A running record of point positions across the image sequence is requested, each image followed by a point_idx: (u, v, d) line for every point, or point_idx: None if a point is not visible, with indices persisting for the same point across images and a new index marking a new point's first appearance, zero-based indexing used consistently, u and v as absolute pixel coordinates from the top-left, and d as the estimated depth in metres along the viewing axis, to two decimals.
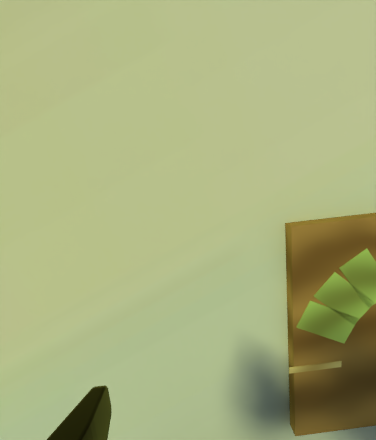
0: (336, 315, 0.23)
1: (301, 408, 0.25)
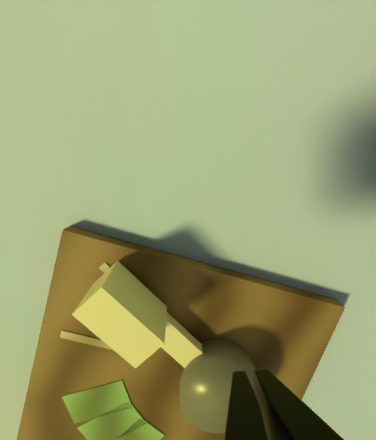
0: (127, 436, 0.22)
1: None
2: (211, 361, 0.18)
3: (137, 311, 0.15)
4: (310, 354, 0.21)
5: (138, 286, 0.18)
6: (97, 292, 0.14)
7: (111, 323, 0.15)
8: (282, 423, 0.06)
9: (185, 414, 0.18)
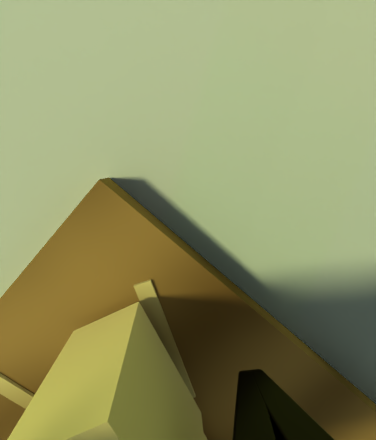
0: None
1: None
2: None
3: None
4: None
5: (167, 369, 0.08)
6: (89, 432, 0.04)
7: None
8: (274, 424, 0.06)
9: None
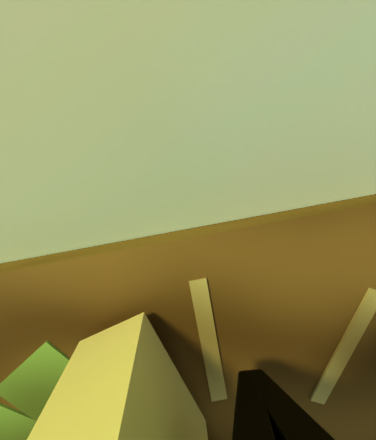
0: None
1: None
2: None
3: None
4: None
5: (173, 379, 0.08)
6: None
7: None
8: (275, 424, 0.06)
9: None
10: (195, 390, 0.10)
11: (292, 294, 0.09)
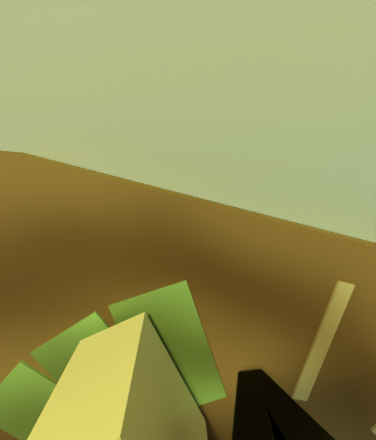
0: None
1: None
2: None
3: None
4: None
5: (173, 379, 0.08)
6: None
7: None
8: (275, 424, 0.06)
9: None
10: (283, 382, 0.10)
11: None
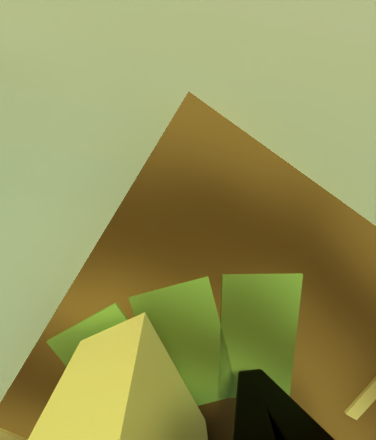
0: None
1: None
2: None
3: None
4: None
5: (173, 379, 0.08)
6: None
7: None
8: (275, 424, 0.06)
9: None
10: (342, 396, 0.10)
11: None
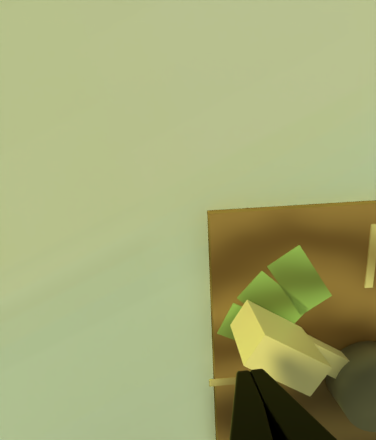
0: None
1: (225, 426, 0.22)
2: (365, 367, 0.18)
3: (296, 345, 0.16)
4: None
5: (275, 317, 0.19)
6: (262, 340, 0.15)
7: (280, 363, 0.15)
8: (277, 424, 0.06)
9: (352, 421, 0.19)
10: (358, 281, 0.19)
11: None
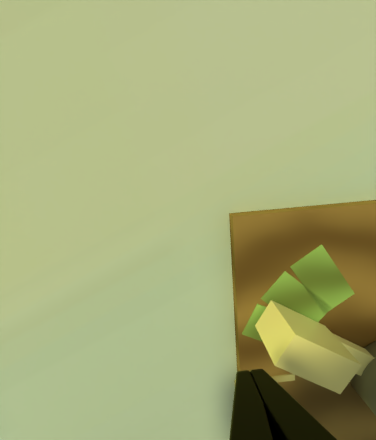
0: None
1: None
2: None
3: (325, 343, 0.16)
4: None
5: (299, 316, 0.19)
6: (293, 340, 0.15)
7: (310, 362, 0.16)
8: (277, 424, 0.06)
9: None
10: None
11: None
